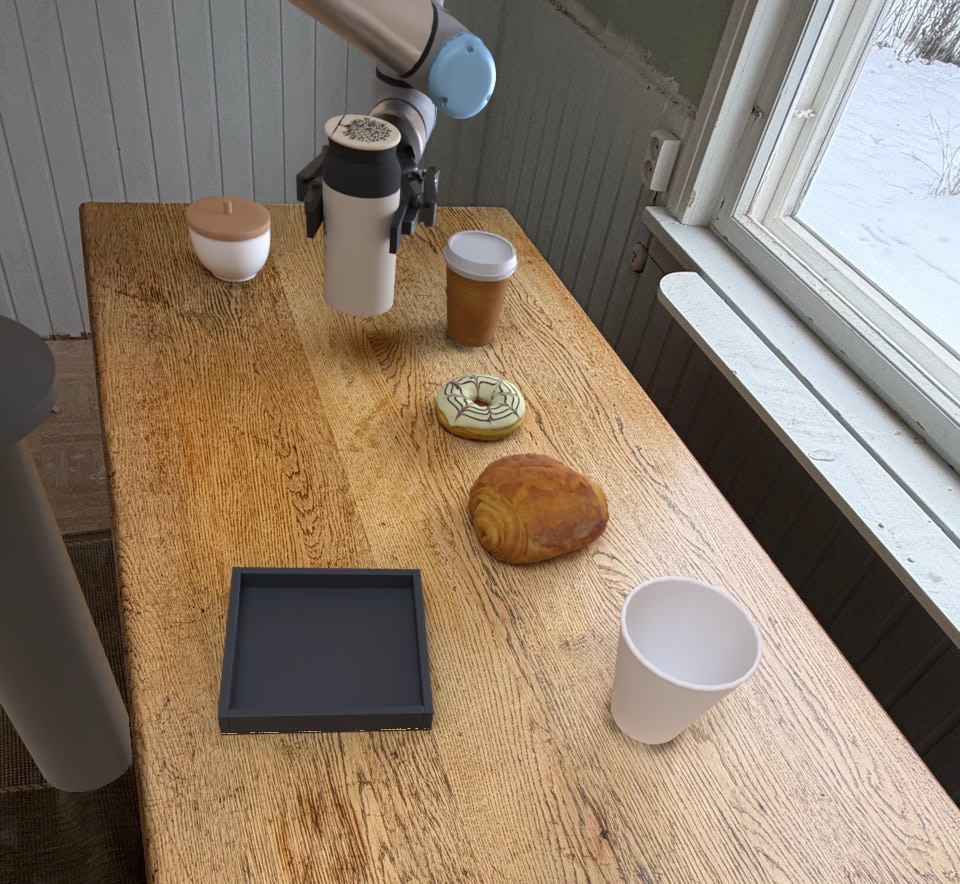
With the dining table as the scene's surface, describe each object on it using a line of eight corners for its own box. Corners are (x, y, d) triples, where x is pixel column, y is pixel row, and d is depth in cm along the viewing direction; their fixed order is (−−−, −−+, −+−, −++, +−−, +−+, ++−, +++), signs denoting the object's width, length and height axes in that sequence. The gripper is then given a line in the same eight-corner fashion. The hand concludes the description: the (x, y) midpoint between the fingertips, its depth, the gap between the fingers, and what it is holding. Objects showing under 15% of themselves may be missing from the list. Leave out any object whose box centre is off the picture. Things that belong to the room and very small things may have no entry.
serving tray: (221, 735, 67) (217, 717, 65) (235, 586, 77) (232, 566, 75) (430, 730, 70) (433, 712, 68) (418, 587, 80) (420, 568, 78)
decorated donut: (427, 394, 100) (430, 367, 97) (509, 393, 103) (514, 367, 100) (443, 447, 94) (446, 421, 91) (530, 445, 97) (536, 418, 94)
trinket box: (177, 265, 111) (166, 194, 103) (240, 244, 117) (234, 175, 109) (227, 299, 107) (219, 228, 100) (289, 276, 113) (286, 207, 106)
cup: (568, 739, 72) (604, 655, 62) (601, 645, 79) (638, 557, 69) (696, 789, 70) (753, 711, 61) (718, 688, 78) (772, 604, 68)
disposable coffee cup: (517, 338, 111) (534, 252, 102) (472, 362, 106) (485, 274, 97) (467, 307, 114) (478, 221, 105) (420, 329, 109) (428, 240, 100)
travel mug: (402, 294, 96) (413, 126, 82) (379, 326, 91) (387, 153, 77) (339, 276, 96) (340, 106, 82) (313, 307, 91) (309, 132, 77)
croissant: (615, 565, 89) (645, 511, 83) (495, 586, 82) (520, 528, 76) (553, 479, 96) (577, 424, 90) (438, 491, 89) (456, 432, 83)
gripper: (471, 196, 100) (447, 286, 86) (305, 164, 99) (253, 249, 85) (479, 130, 95) (455, 214, 80) (303, 95, 94) (247, 174, 79)
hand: (351, 232), depth 83 cm, fingers closed on travel mug, 8 cm apart
